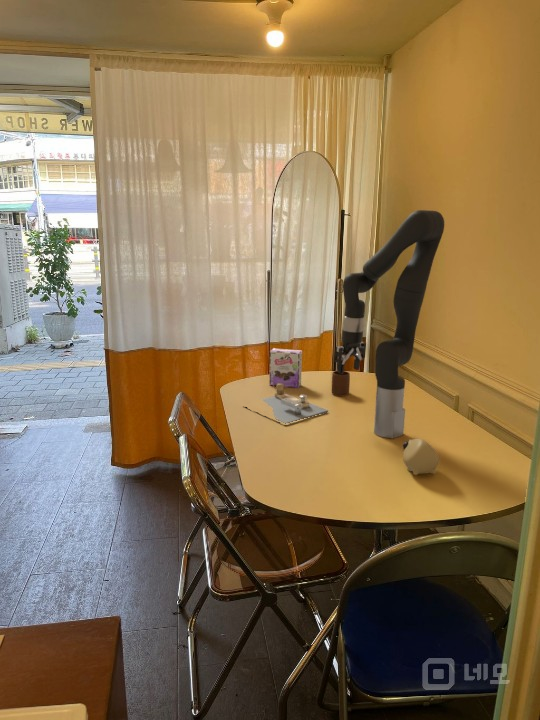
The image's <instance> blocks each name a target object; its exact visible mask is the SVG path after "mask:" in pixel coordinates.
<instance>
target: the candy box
mask: <svg viewBox="0 0 540 720" xmlns="http://www.w3.org/2000/svg"><path fill="white" fill-rule="evenodd" d="M302 358H303V350H300V349H299V350H297V349H286V348H275V347H273V348H272V349H270V351H269V383H268V384H269V386H271V385H275V386H274V387H277V384H279V383H281V384H284V388H293V389H299V388H300V387H301V386H302V369H303V368H302V366H303V365H302V362H303V359H302Z"/></svg>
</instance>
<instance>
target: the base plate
mask: <svg viewBox="0 0 540 720" xmlns="http://www.w3.org/2000/svg"><path fill="white" fill-rule="evenodd" d="M284 394H286V393H285V392H284ZM288 395H289V396H291V395H290V394H288ZM293 397H294V398H297V397H295V396H293ZM297 399H299V397H298V398H297ZM260 400H263V401H264V402H266V403H267V404H268V406H271V407H272V408H273V410H272V411H273V413H274V414H273V415H274V417H275V416H276V417H275V419H276V418H278V419H276V420H278V421H281V422H283V423H285V424H286V423H290V422H293V421H297V420H300V419H304V418H308V417H312V416H315V415H319V414H322V415H324V414H323V413H325V414H328V413H329V410H328V409H326V408H323V407H321V406H318V405H315V404H313V403H310V402H309V407H308V408H302V411H301V415H295V409H294V408H292V407H289V406H287V405H284V404H282V403H281V399H279V398H276V397H275V395H273V396H270V397H265V398H261V399H260ZM327 412H328V413H327ZM319 416H320V415H319Z"/></svg>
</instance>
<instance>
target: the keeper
mask: <svg viewBox="0 0 540 720" xmlns="http://www.w3.org/2000/svg"><path fill="white" fill-rule="evenodd" d="M298 399H300V400H301V403H305V401H306V399H308V395H306V394H300V395H298ZM281 403H282V404H284V405H287V406H289V407H292V408H294V409H295V415H301V411H302V408H303V404H301V403H299V402H296V401H293V400H291V399H288V398H284V399H281Z"/></svg>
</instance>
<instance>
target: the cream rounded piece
mask: <svg viewBox="0 0 540 720" xmlns="http://www.w3.org/2000/svg"><path fill="white" fill-rule="evenodd" d="M402 451H403V456H402V457H403V463H404V464H405V466H406V468H407V471H408V472H412V473H413V475H416V476H417V475H419V474H428V473H430V474H432V475H435V474H436V473H437V470H436V469H437V467H438V466H439V464H440V456H439V454H438V452H437V451H436V450H435V449H434V447H433V446H432V445H431V444H430V443H429V442H428V441H427V440H425V439H423V438H421V437H418V438H414V439H413V438H412V439H408V441H404V442H403V443H402Z"/></svg>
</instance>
